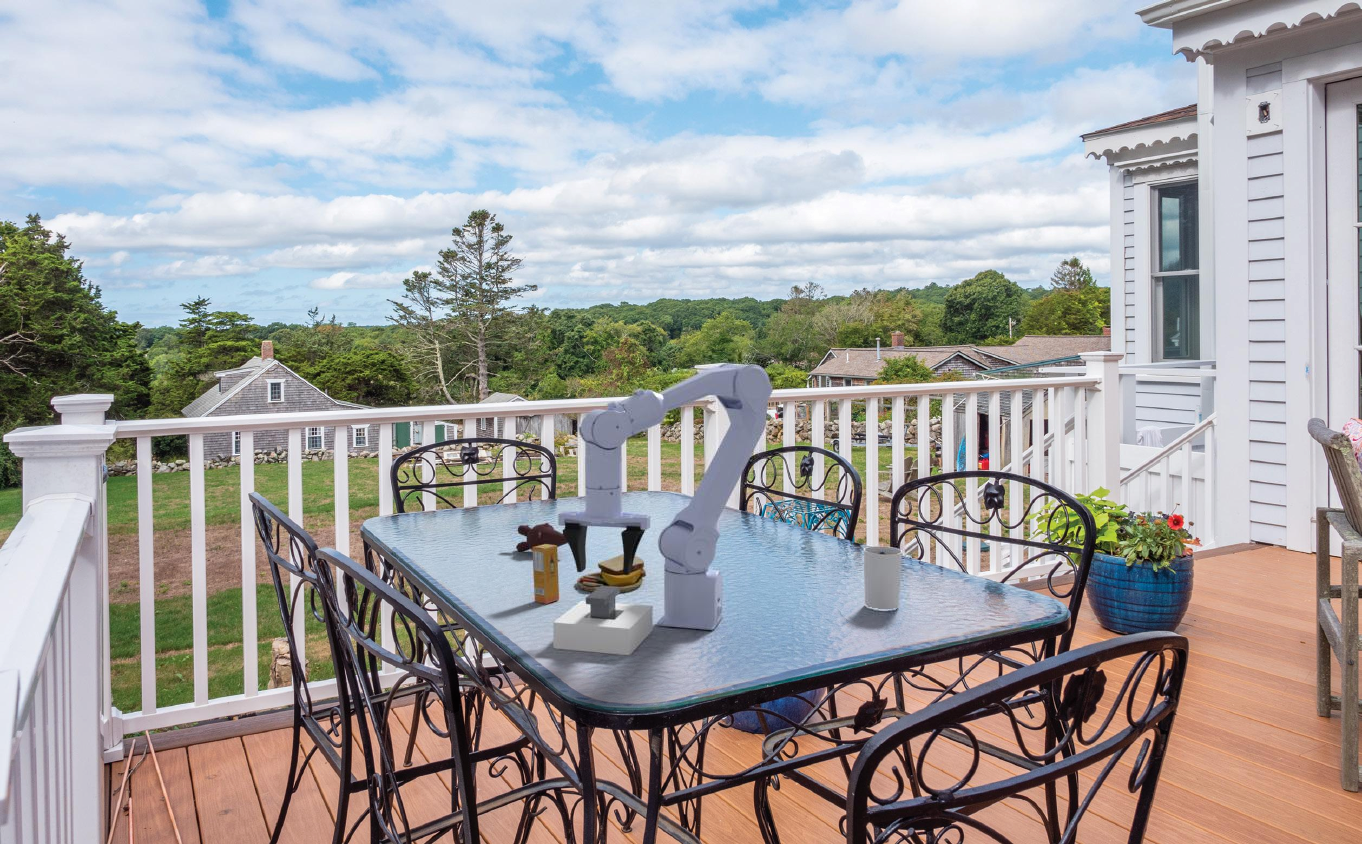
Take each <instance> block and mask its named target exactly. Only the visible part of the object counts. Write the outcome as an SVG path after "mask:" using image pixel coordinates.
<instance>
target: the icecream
mask: <svg viewBox="0 0 1362 844" xmlns="http://www.w3.org/2000/svg"><path fill="white" fill-rule="evenodd" d="M517 532H518V534H519V535H521V536H524V537H526V541H521V542H518V543H517V545H516V546H515V548H516V550H517V551H518V552H527V551H529V550H531V551H532V552H533V550H532V548H533V547H536V546H540V545H543V544H550V545H556V546H557V548H560V547H561V546H564V545H567V544H568V542H567V540H566V539H565V537H564V535H563V532H560V531H559V530H556V529H554V527H553V526H552V525H550V524H549V522H545V523H541V524H536V525H534V526H533V527H530V525H528V524H527V525H524V524H521V525H519V526H518V527H517Z"/></svg>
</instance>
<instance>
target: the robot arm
mask: <svg viewBox="0 0 1362 844" xmlns="http://www.w3.org/2000/svg"><path fill="white" fill-rule="evenodd" d="M769 377H770V376H769V374H768V373H767V371H766V370H765V369H764V367H762V366H760V365H758V364H752V363H750V364H733V363H726V362H725V363H722V364H720V365H717V366H714V367H710V368H709V367H708V368H707V369H705V370H703V371H701V372H699V373H697V374H695V375H693V376H691V377H689V378H687V379H684V380H683V381H680V382H678V383H677V384H675V385H673V386H671V387H669V388H666V389H665V390H663V391H661V392H658V393H657V392H655V391H654V390H651V389H646V390H644V388H643V389H642V388H638V389H635V390H633V391H632V393H633V395H632V396H629V397H627V398H624V399H623V400H620V401H618V402H615V401H610V402H607V404H606V405H607V407H606V409H599V408H598V409H592V410H590V411H589V412H587V413H586V414H585V416H584V417H583V419H582V420H581V423H580V426H579V427H578V433H579V435H580V438H581V439H582V441H583V442H584V451H585V453H584V454H585V455H584V480H585V481H584V483H585V484H584V488H585V489H584V491H585V492H584V493H585V495H584V496H585V501H584V502H585V511H584V510H583V511H582V510H581V511H578V510H577V511H564V510H563V511H561V512H559V513H557V515H558V516H557V520H558V521H557V522H558V526H563V527H564V529H562V534H563V535H564V537H565V539H566V540H567V542H568V543H567V544H568V547H569V548H570V550H571V553H572V555H573V559H574V563H575V567H576V572H577V573H583V572H584V571H585V570H586V569H587V568H586V567H587V557H586V556H587V555H586V554H587V553H586V544H587V542H586V541H587V533H588V527H600V528H601V527H603V528H625V529H624V530H623V531H621V532H620V533H621V534H620V537H621V541H622V548H623V549H622V550H623V554H624V561H623V572H624V575H629V574H630V573H631V572H632V566H633V561H634V557H635V556H636V553H637V550H638V547H639V545H640V542H641V540H642V538H643V536H644V534H645V532H646V531H647V530H649V529H650V528H651V515H647V514H639V513H631V512H623V467H622V466H623V463H622V461H623V458H622V446H623V444H625V442H626V441H627V438H631V437H632V436H635V435H637V434H640V433H641V432H645V430H649V429H650V428H653V427H655V426H657V425H660V424H661V423H663V422H664V420H665V417H666V416H667V413H668V412H670V411H673V410H674V409H678V408H680V407H683V406H685V405H688V404H691V403H692V402H695V401H698V400H700V399H703V398H705V397H708V396H715V397H716V398H717V399H718V401H719V402H720V404H721V406H722V407H723V408H724V410H725V412H726V414H727V417H728V420H729V422H730V425H729V427H728V428H727V431H726V432H725V435H724V436H723V438H722V440H721V442H720V445H719V446H718V448H717V450H716V452H715V453H714V456H713V457H712V460H711V462H710V463H709V464H708V465H709V466H708V467H707V469H706V471H705V473H704V475H703V477H702V479H701V480H700V483H699V484H698V487H697V488H696V490H695V492H694V494H693V496H692V498H691V499H690V502H689V504H688V505H687V506H686V507H685V508H683V509H682V510H680V511H678V512H677V513H676V515H675V516H674V518H673V520H672V521H671V522H670V523H669V524H668V525H667V526H665V527H664V528H663V529H662V531H661V532H660V534H659V536H658V538H657V539H658V540H657V546H658V550H659V553H660V554H661V555H662V557H664V566H663V568H664V571H663V572H664V575H663V577H664V579H663V580H664V583H663V584H664V585H663V586H664V587H663V589H664V590H663V591H664V592H663V593H664V594H663V596H664V600H663V601H664V602H663V603H664V607H663V608H664V609H663V611H664V614H663V615H662V616H661V617H660V618H659V619H658V621H656V626H661V627H671V628H672V627H673V628H681V629H683V628H685V629H692V630H693V629H697V630H707V631H708V630H709V631H714V630H715V628H716V627H717V626H718V624H719V623H720V621H721V620H722V618H723V617H724V614H723V574H722V572H721V571H720V570H714V569H711V568H709V567H710V566H711V564H712V563H713V562H714V559H715V556H716V548H717V543H718V540H719V538H720V537H721V532H720V527H719V523H718V522H719V521H718V520H719V518H720V517H721V515H722V514H723V513H722V512H724V509H725V507H726V505H727V503H728V500H729V499H730V497H731V495H732V493H733V491H734V490H735V487H736V486H737V483H738V482H739V480H740V478H741V476H742V474H743V472H744V471H745V468H746V467H747V464H748V462H749V461H750V458H751V456H752V454H753V453H754V451H755V448H756V446H757V445H758V443H759V441H760V439H761V437H762V435H763V433H764V432H765V428H766V425H767V415H768V401H769V400H770V397H771V395H772V394H773V392H774V391H773V387H772V384H771V381H770V378H769Z"/></svg>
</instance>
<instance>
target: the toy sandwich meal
mask: <svg viewBox="0 0 1362 844" xmlns="http://www.w3.org/2000/svg"><path fill="white" fill-rule="evenodd" d="M623 561H624V553H623V554H619V555H617V556H615V557H612V558H609V559H606V560H602V561H600V562H598V563H597V567H598V569H599V570H600V572H599V571H597V572H593V573H588V574H585V575H581V576H579V578H578V579H577V581H576V583H577V584H578V586H580V587H581V588H582V589H583V590H585V591H588V592H591V593H592V592H594V591H595V590H596V589H598V588H599V587H600V586H614V587H619V593H625V592H629V591H633V590H636V589H638V587H639V586H640V585H642V583H643V581H644V578H646V576H647V573H646V569H644V568H645V563H644V562H645V561H644V560H643V559H642V558H641V557H639V556H636V555H635V557H634V561H633V566H632V572H631V573H630V574H629V575H624V572H623Z"/></svg>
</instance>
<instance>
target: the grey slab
mask: <svg viewBox="0 0 1362 844" xmlns="http://www.w3.org/2000/svg"><path fill="white" fill-rule="evenodd" d="M619 594H620V592H619V587H614V586H600V587H599V588H598V589H596V590H595V591H594V592H592V591H591V593H590V594H589V595H587V596H585V601H586V604H590V617H591V618H598V619H609V620H615V603H616V597H617V596H618V595H619Z"/></svg>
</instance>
